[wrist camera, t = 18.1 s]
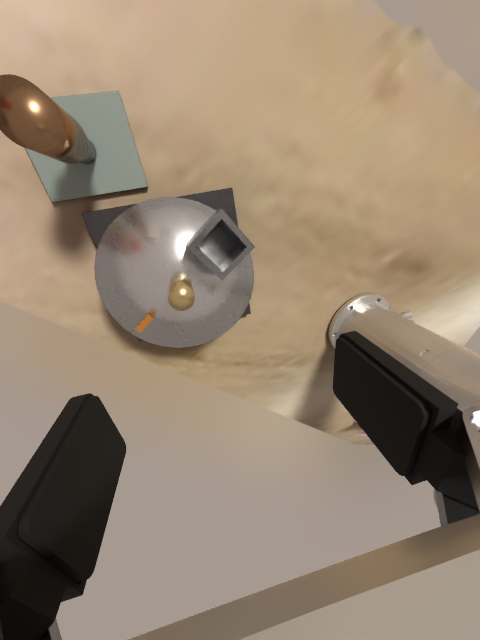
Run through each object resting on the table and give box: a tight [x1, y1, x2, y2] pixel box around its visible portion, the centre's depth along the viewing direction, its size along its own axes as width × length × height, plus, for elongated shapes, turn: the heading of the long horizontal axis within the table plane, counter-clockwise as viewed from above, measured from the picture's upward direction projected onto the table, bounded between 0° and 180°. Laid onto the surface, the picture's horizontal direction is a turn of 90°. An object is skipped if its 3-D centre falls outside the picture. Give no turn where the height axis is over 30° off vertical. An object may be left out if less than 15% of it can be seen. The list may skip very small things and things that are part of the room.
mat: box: [26, 91, 148, 202], centre depth 23 cm, size 10×8×1 cm
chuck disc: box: [95, 197, 255, 348], centre depth 24 cm, size 17×17×7 cm
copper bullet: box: [0, 74, 97, 164], centre depth 18 cm, size 4×4×10 cm
